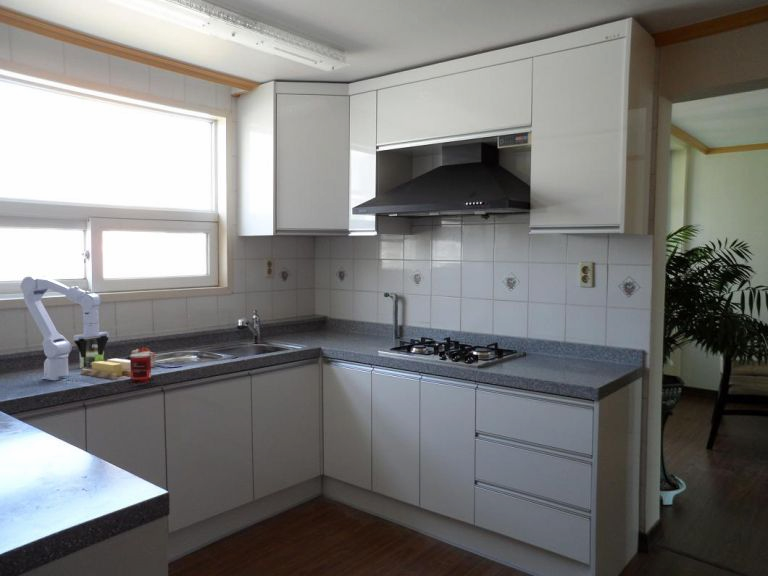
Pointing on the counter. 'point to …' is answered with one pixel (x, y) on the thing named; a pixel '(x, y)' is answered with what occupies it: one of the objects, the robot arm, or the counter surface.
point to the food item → (146, 350)
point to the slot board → (106, 374)
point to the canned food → (140, 367)
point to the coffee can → (91, 354)
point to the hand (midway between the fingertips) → (92, 355)
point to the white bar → (124, 363)
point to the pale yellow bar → (107, 367)
